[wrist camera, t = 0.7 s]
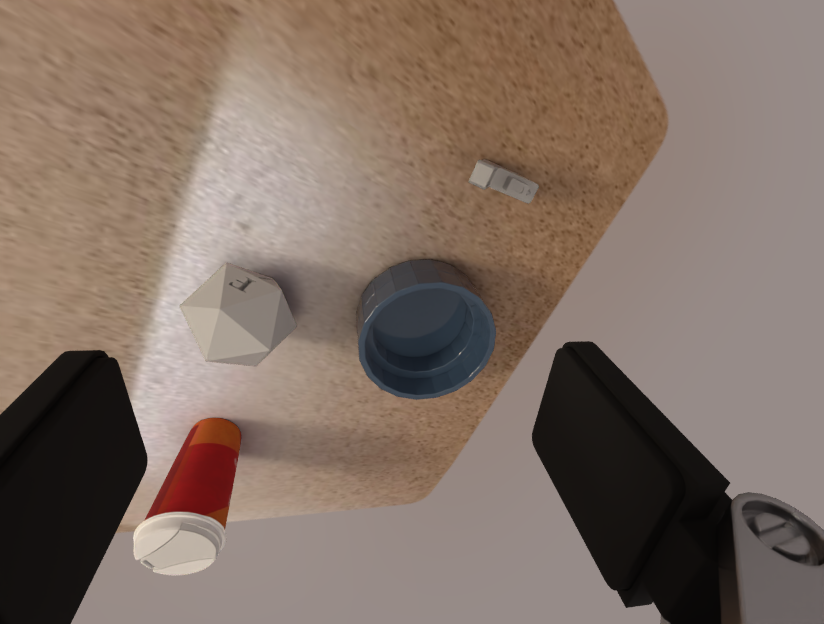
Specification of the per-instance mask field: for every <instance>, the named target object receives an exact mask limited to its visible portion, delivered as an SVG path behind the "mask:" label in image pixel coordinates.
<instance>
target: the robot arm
mask: <svg viewBox="0 0 824 624" xmlns="http://www.w3.org/2000/svg"><path fill="white" fill-rule="evenodd" d="M532 441H533V445H534V448H535V450H536V452H537V454H538V456H539V457H540V459H541V461H542V463H543V465H544V467H545V469H546V471H547V472H548V474H549V476H550V478H551V480H552V482H553V484H554V486H555V487H556V489H557V491H558V493H559V495H560V497H561V499H562V501H563V503H564V504H565V506H566V508H567V510H568V512H569V514H570V516H571V518H572V519H573V521H574V523H575V525H576V527H577V529H578V531H579V533H580V534H581V536H582V538H583V540H584V542H585V544H586V546H587V548H588V549H589V551H590V553H591V555H592V557H593V559H594V561H595V563H596V564H597V566H598V568H599V570H600V572H601V574H602V576H603V578H604V580H605V581H606V583H607V584H608V586H609V587H610V588H611V589H613V590H617V591H618V594H619V596H620V597H621V599H622V601H623V603H624V605H625V607H626V608H628V607H635V606H642V605H649V604H652V602H654V603H655V605H656V607H657V609H658V610H659V612H660V613H661V623H660V624H824V530H823V529H822V528H821V527H820V526H818V525H817V524H816V523H815V522H814V521H813V520H811V519H810V518H809V517H808V516H806V515H804V514H803V513H802V512H800V511H799V510H797V509H796V508H794V507H792V506H790V505H788V504H786V503H784V502H782V501H780V500H778V499H776V498H773V497H770V496H767V495H763V494H758V493H749V492H748V493H743V494H739V495H737V496H736V497H735V498H734V499H733V500H732V499H731V498H730V497H729V496H728V495H727V494H726V493H725V490H726V489H727V487H728V486H729V484H730V482H729V481H728V480H727V479H726V478H725V477H724V476H723V475H722V474H721V473H720V472H719V471H718V470H717V469H716V468H715V467H714V466H713V465H712V464H711V463H710V462H709V461H708V460H707V459H706V458H705V456H704V455H703V454H701V452H700V451H699V450H698V449H697V448H696V447H695V446H694V445H693V444H692V443H691V442H690V441H689V440H688V439H687V438H686V437H685V436H684V435H683V434H682V433H681V432H680V431H679V430H678V429H677V428H676V427H675V426H674V425H673V424H672V423H671V422H670V420H669V419H668V418H666V416H665V415H664V414H663V413H662V412H661V411H660V410H659V409H658V408H657V407H656V406H655V405H654V404H653V403H652V402H651V401H650V400H649V399H648V398H647V397H646V396H645V395H644V394H643V393H642V392H641V391H640V390H639V389H638V388H637V387H636V385H635V384H634V383H633V382H632V381H631V380H630V379H629V378H627V376H626V375H625V374H624V373H623V372H622V371H621V370H620V369H619V368H618V367H617V366H616V365H615V364H614V363H613V362H612V361H611V360H610V359H609V358H608V357H607V356H606V355H605V354H604V353H603V351H602V350H600V348H599V347H598V346H597V345H596V344H594V343H593V342H589V341H588V342H567V343H565V344H564V345H563V347H562V348H560V349H558V350H557V352H556V354H555V357H554V361H553V364H552V368H551V371H550V374H549V378H548V381H547V384H546V388H545V391H544V395H543V398H542V401H541V405H540V408H539V411H538V415H537V418H536V422H535V425H534V429H533V433H532ZM146 467H147V453H146V450H145V447H144V443H143V440H142V437H141V434H140V431H139V428H138V424H137V421H136V418H135V415H134V412H133V408H132V405H131V402H130V399H129V396H128V393H127V389H126V386H125V383H124V380H123V377H122V374H121V370H120V367H119V364H118V362H117V360H116V359H115V358H112V357H110V358H109V357H108V355H107V354H106V353H105V352H104V351H101V350H89V351H66V352H64V353H63V354H61V355H60V356H59V357H58V358H57V359H56V360H55V361H54V362H53V363H52V364H51V365H50V366H49V367H48V368H47V369H46V370H45V371H44V372H43V373H42V374H41V375H40V376H39V377H38V378H37V379H36V380H35V381H34V382H33V383H32V384H31V385H30V386H29V387H28V388H27V389H26V390H25V391H24V392H23V393H22V394H21V395H20V396H19V397H18V398H17V399H16V400H15V401H14V402H13V403H12V404H11V405H10V406H9V407H8V408H7V409H6V410H5V411H4V412H3V413H2V414H1V415H0V624H71V622H72V620H73V618H74V616H75V614H76V612H77V610H78V608H79V606H80V604H81V602H82V600H83V598H84V595H85V593H86V591H87V589H88V587H89V585H90V583H91V581H92V579H93V577H94V575H95V573H96V571H97V569H98V567H99V565H100V563H101V561H102V559H103V557H104V555H105V553H106V551H107V549H108V547H109V545H110V543H111V541H112V539H113V537H114V535H115V533H116V531H117V528H118V526H119V524H120V522H121V520H122V518H123V516H124V514H125V512H126V510H127V508H128V506H129V504H130V502H131V500H132V498H133V496H134V494H135V492H136V490H137V488H138V486H139V484H140V482H141V480H142V478H143V476H144V474H145V471H146Z"/></svg>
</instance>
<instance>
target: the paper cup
mask: <svg viewBox="0 0 824 624" xmlns="http://www.w3.org/2000/svg"><path fill="white" fill-rule="evenodd" d="M240 444H241V432H240V430H239V428H238V427H237V426H236V425H235V424H234V423H232V422H230V421H228V420H225V419H221V418H208V419H204V420H201V421H199V422H198V423H196V424H195V425H194V426H193V428H192V429H191V431H190V433H189V434H188V436H187V438H186V440H185V442H184V444H183V446H182V448H181V450H180V452H179V453H178V455H177V457H176V459H175V461H174V463H173V465H172V467H171V469H170V471H169V473H168V475H167V477H166V479H165V481H164V483H163V485H162V487H161V489H160V491H159V493H158V495H157V497H156V499H155V501H154V503H153V505H152V507H151V509H150V511H149V513H148V515H147V516H146V518H145V520H144V522H142V523H141V524H140V525H139V526H138V527H137V529H136V530H135V532H134V536H133V541H134V556H135V559H136V560H138V559H140V560H141V562H140V563H142V564H143V565H145V566H146V567H147V568H149V569H151V568H153V571H154V572H156V573H160V574H165V575H186V574H191V573H195V572H198V571H201V570H203V569H205V568H207V567H208V566H210V565H211V564H212V563H213V562H214V560H215V559H216V558H217V556H218V554H219V553H220V552H221V550H222V549H223V548H224V546H225V544H226V533H225V526H226V521H227V515H228V510H229V505H230V499H231V494H232V489H233V483H234V478H235V472H236V467H237V461H238V456H239V450H240Z"/></svg>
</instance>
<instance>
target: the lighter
mask: <svg viewBox="0 0 824 624" xmlns="http://www.w3.org/2000/svg"><path fill="white" fill-rule="evenodd" d="M469 183H471V184H473V185H475V186H478V187H480V188H482V189H484V190H485V189H486V188H488V187H490V188H492V189H495V190H497V191H499V192H502V193H504V194H507V195H509V196H511V197H514V198H516V199H518V200H521V201H523V202H526V203H530V202H531V201H532V199H533V197H534V195H535V193H536V191H537V189H538V188H539V186H538V184H536V183H535V182H533V181H531V180H529V179H527V178H525V177H523V176H522V175H520V174H518V173H515V172H513V171H511V170H509V169H506V168H504V167H502V166H500V165H497V164H495V163H493V162H491V161H488V160H486V159H483V160H478V162H477V164H476V166H475V168H474V170H473V173H472V175H471V177H470V179H469Z"/></svg>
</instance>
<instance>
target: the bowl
mask: <svg viewBox="0 0 824 624" xmlns="http://www.w3.org/2000/svg"><path fill="white" fill-rule="evenodd" d="M356 319H357V334H358V348H359V360H360V362H361V364H362V366H363V368H364V370H365V373H366V375H367V376H368V377H369V378H370V379H371V380H372V381H373V382H374V383H375V384H376V385H377V386H378V387H379V388H381V389H382V390H384V391H386V392H389V393H391V394H393V395H395V396H398V397H403V398H409V399H416V400H417V399H428V398H436V397H440V396H443V395H446V394H448V393H451V392H454V391H457V390H458V389H460V388H461V387H463V386H464V385H466V384H467V383H469V382H471V381H472V380H473V379H474V378H475V377H476V376H477V375H478V374H479V372H480V371H481V370H482V369H483V368H484V367H485V366H486V364H487V362H488V360H489V358H490V356H491V354H492V352H493V349H494V343H495V336H496V329H495V325H494V321H493V317H492V313H491V312H490V310H489V309H488V307H487V305H486V304H485V302H484V301H483V299H482V298H481V296H480V295H479V293H478V292H477V290H476V288H475V287H474V286H473V284H472V283H471V281H470V280H469V279H468V277H467V276H466V275H465V274H464V273H462V272H461V271H459V270H458V269H456V268H455V267H453V266H452V265H450V264H447V263H443V262H439V261H435V260H430V259H429V260H410V261H407V262H404V263H401V264H398V265H396V266H393V267H390V268H389V269H387V270H386V271H385V272H383V273H382V274H380V275H379V276H378V277H376V278H375V279H374V280H373V281H372V282H371V283H370V285H369V286H368V288H367V289H366V290H365V292H364V293H363V294H362V296H361V299H360V302H359V306H358V309H357V312H356Z"/></svg>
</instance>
